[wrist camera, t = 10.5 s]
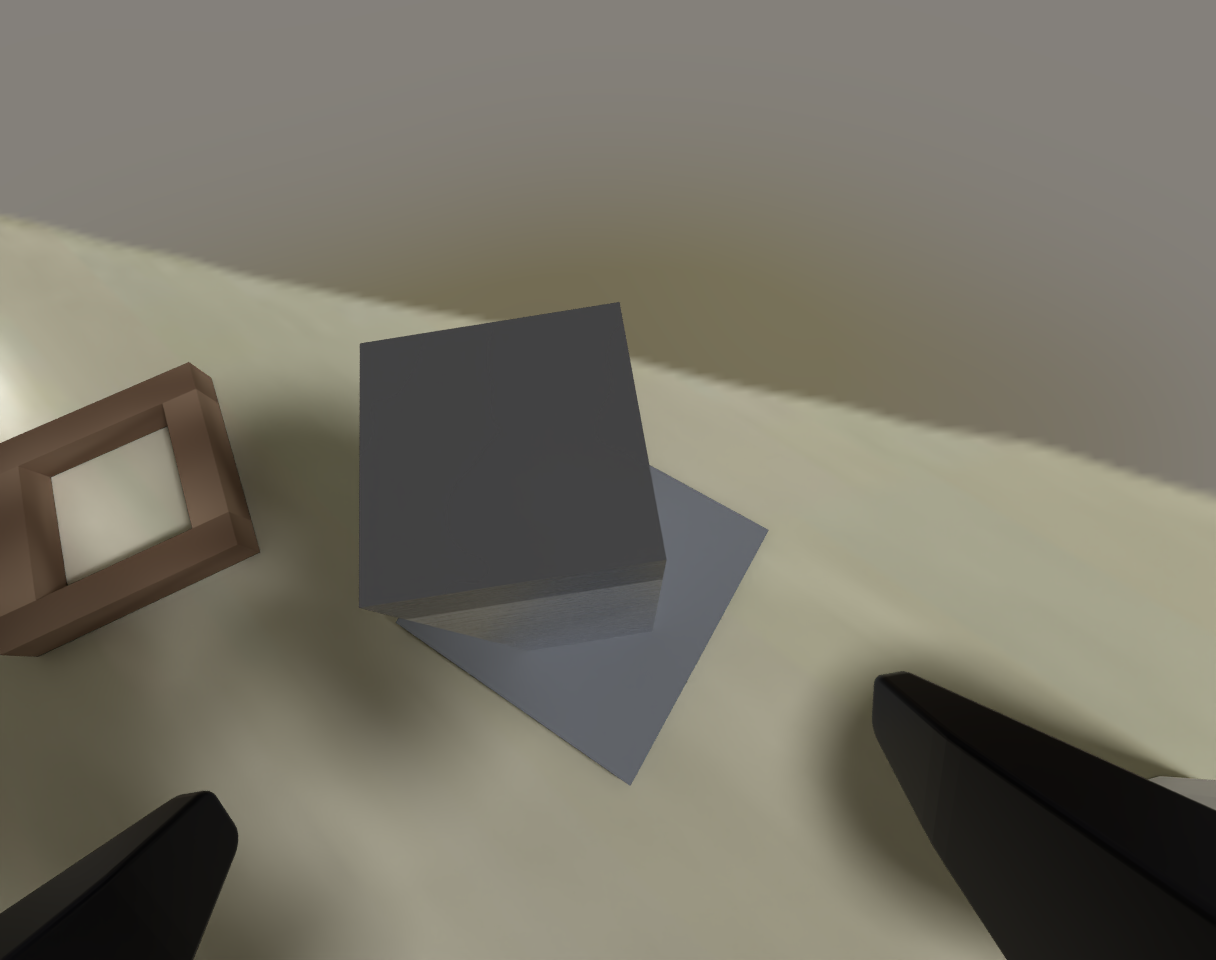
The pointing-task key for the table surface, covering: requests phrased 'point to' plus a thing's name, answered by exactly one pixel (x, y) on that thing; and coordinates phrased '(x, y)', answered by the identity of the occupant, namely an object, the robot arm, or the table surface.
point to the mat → (624, 640)
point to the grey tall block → (509, 482)
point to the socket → (220, 537)
